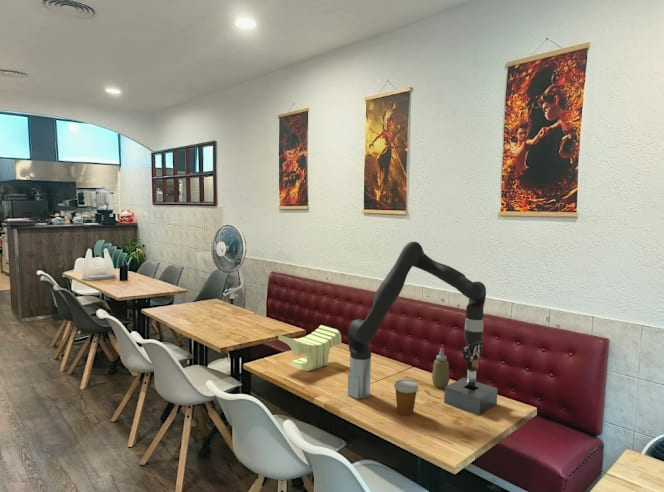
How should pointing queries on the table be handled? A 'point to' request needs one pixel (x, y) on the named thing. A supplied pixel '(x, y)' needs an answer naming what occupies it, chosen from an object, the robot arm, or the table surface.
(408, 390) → the disposable coffee cup
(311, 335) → the slatted curved stool
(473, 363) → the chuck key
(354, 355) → the robot arm
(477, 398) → the block
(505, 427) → the table surface
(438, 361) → the squeeze bottle
